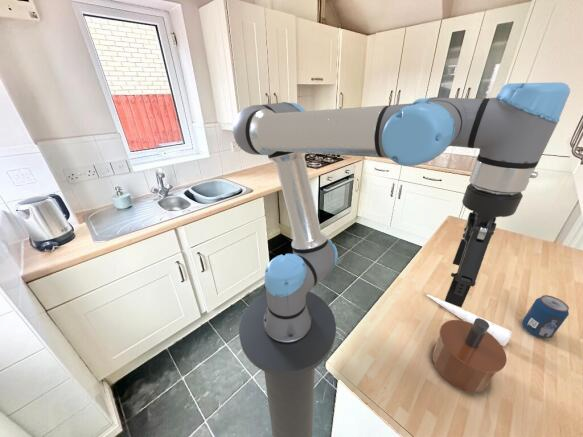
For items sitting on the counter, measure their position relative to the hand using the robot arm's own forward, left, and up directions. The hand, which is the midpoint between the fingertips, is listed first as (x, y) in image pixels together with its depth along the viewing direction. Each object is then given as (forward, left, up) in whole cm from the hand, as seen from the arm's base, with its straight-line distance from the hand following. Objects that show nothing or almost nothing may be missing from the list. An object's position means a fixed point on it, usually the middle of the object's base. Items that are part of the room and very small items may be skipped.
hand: (456, 282), depth 51 cm
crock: (+8, +6, -31) cm, 32 cm away
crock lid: (+8, +6, -21) cm, 23 cm away
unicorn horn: (+8, +24, -31) cm, 40 cm away
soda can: (+26, +32, -31) cm, 52 cm away
